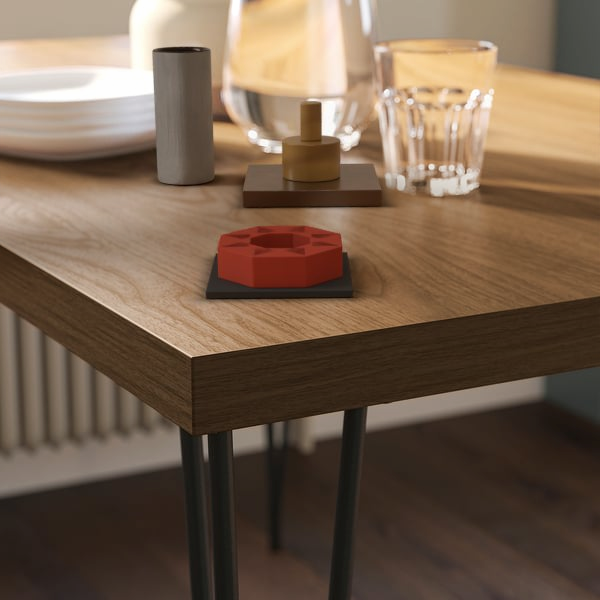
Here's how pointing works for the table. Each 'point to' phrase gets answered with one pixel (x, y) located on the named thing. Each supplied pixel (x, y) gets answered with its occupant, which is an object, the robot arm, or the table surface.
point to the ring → (280, 256)
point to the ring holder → (311, 172)
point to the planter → (183, 115)
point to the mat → (325, 289)
